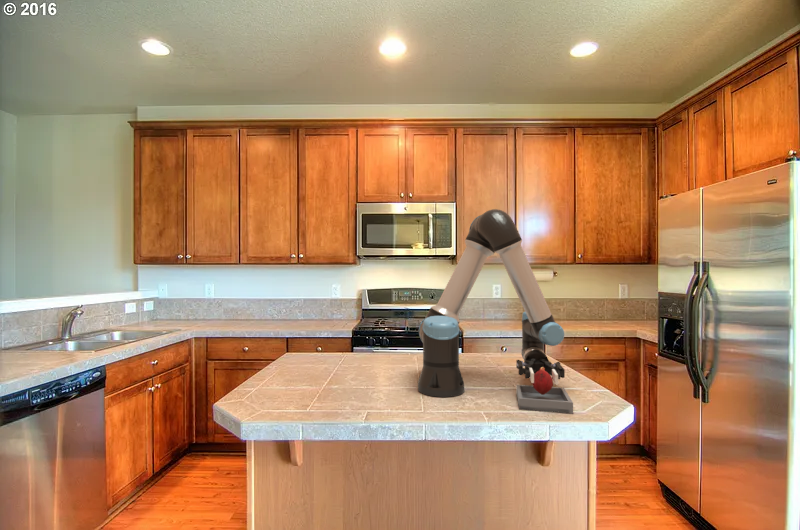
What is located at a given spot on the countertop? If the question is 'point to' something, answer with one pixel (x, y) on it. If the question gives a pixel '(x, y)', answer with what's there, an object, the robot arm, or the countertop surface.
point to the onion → (542, 381)
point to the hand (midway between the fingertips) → (544, 378)
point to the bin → (544, 400)
